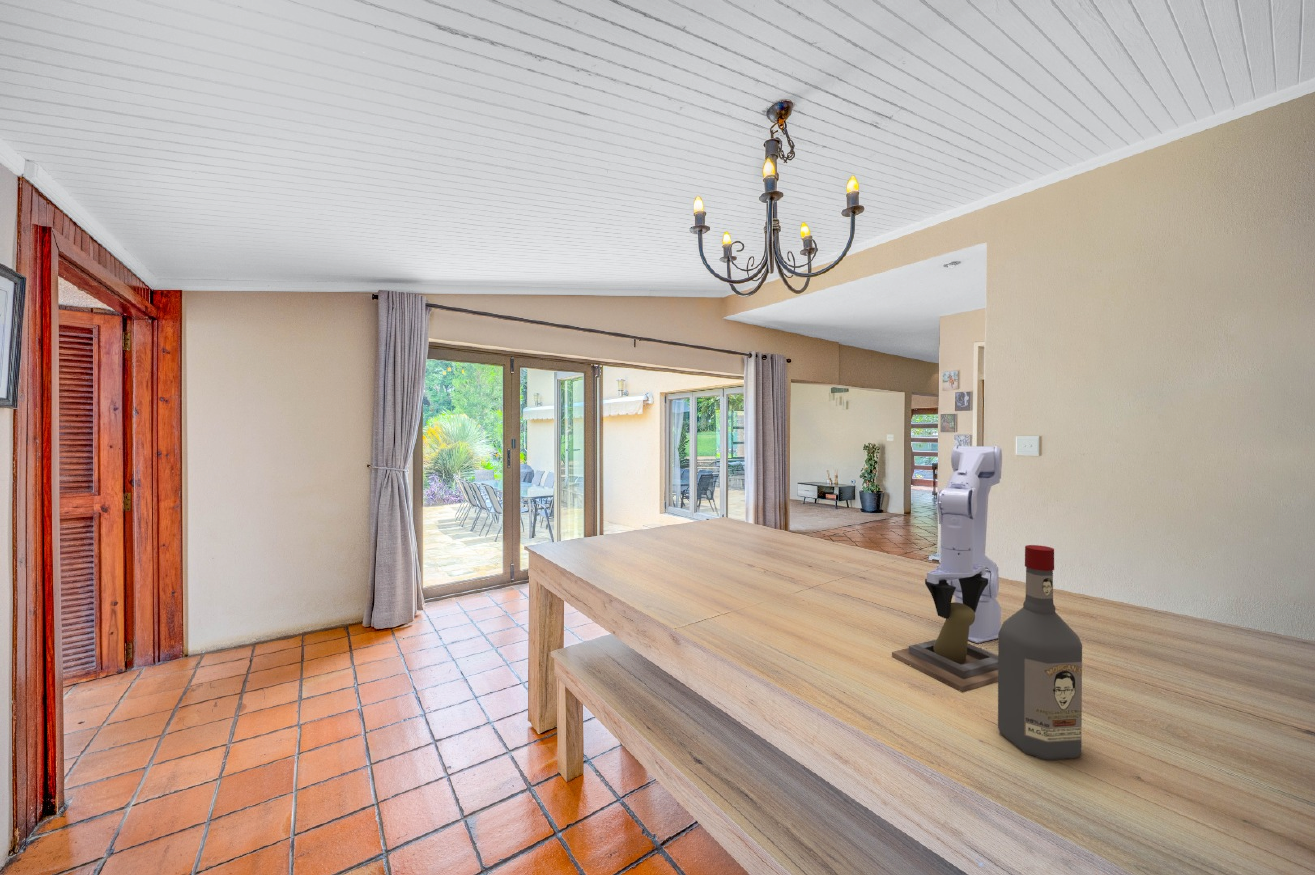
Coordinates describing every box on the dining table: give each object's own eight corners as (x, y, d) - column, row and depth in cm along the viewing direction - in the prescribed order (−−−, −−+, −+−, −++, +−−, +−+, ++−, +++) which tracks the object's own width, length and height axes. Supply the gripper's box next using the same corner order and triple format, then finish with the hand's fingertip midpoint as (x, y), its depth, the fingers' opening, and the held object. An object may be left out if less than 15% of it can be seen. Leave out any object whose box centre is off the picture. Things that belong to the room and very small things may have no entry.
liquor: (989, 726, 84) (989, 542, 83) (1041, 723, 85) (1042, 540, 84) (1034, 763, 75) (1035, 556, 74) (1093, 759, 76) (1094, 554, 75)
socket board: (952, 642, 117) (952, 631, 116) (1026, 673, 102) (1026, 660, 102) (891, 656, 110) (891, 644, 110) (962, 692, 95) (962, 678, 95)
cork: (971, 665, 104) (985, 617, 101) (940, 661, 104) (953, 613, 101) (957, 646, 110) (970, 600, 107) (928, 642, 110) (940, 596, 107)
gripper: (963, 540, 112) (963, 603, 112) (913, 546, 106) (913, 613, 106) (995, 547, 105) (995, 613, 105) (944, 554, 100) (944, 625, 100)
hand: (956, 614), depth 105 cm, fingers open, 7 cm apart
